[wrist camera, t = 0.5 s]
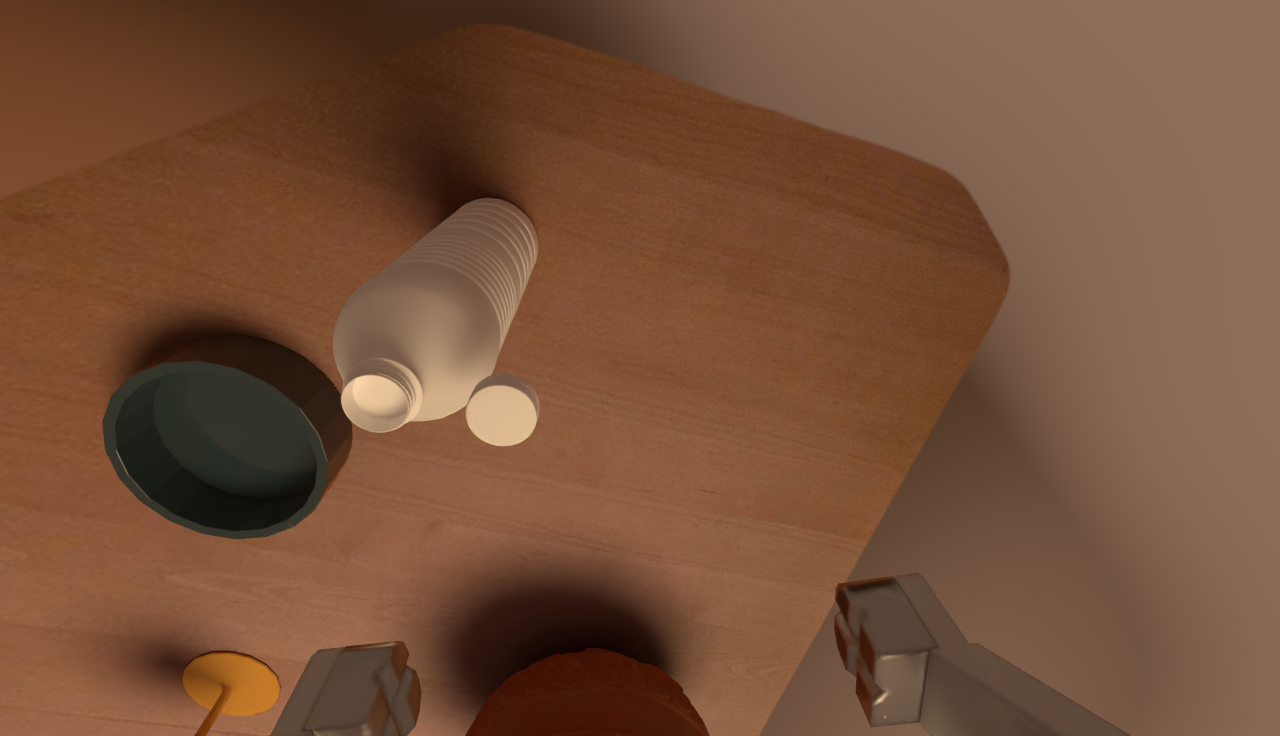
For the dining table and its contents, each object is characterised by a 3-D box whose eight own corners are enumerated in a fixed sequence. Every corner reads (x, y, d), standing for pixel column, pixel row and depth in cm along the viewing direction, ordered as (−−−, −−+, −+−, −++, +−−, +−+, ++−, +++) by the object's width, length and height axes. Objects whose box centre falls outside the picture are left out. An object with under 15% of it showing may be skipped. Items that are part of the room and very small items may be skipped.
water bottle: (447, 281, 44) (283, 479, 21) (447, 191, 41) (259, 304, 18) (566, 294, 45) (531, 496, 22) (573, 206, 42) (543, 332, 19)
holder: (119, 341, 44) (64, 369, 39) (325, 328, 45) (294, 354, 40) (192, 505, 50) (151, 545, 46) (371, 492, 51) (349, 530, 46)
